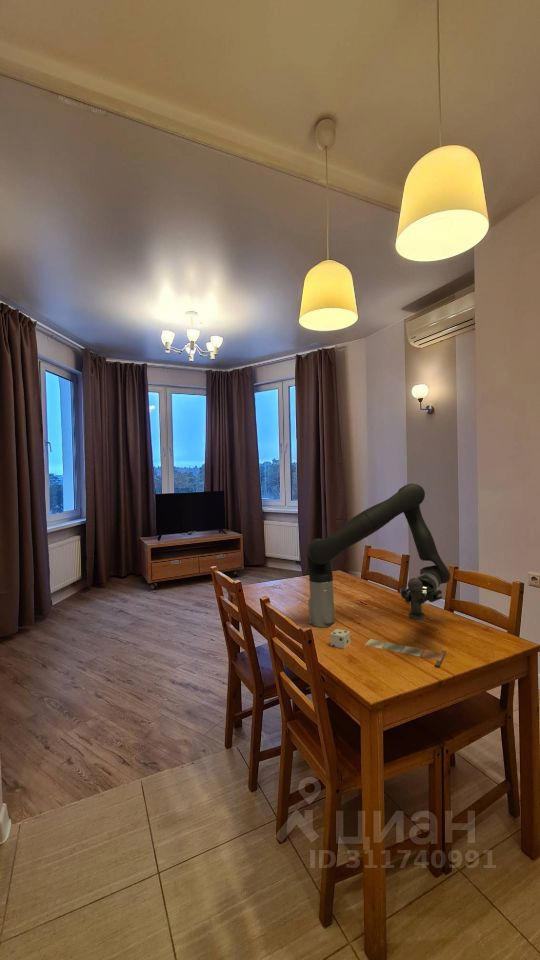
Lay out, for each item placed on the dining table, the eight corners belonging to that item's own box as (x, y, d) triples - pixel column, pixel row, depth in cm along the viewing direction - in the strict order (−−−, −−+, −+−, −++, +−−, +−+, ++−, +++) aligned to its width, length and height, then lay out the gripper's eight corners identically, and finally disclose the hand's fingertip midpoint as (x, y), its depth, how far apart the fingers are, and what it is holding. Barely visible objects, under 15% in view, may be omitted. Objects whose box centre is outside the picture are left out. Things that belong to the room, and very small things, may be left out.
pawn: (406, 619, 122) (404, 579, 122) (410, 614, 126) (408, 575, 126) (422, 621, 120) (420, 580, 120) (426, 616, 124) (424, 577, 124)
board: (361, 650, 127) (360, 648, 127) (372, 638, 136) (372, 636, 136) (439, 667, 114) (439, 664, 114) (446, 653, 123) (446, 650, 123)
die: (330, 648, 130) (329, 633, 130) (336, 643, 134) (336, 628, 134) (344, 652, 127) (344, 636, 127) (350, 646, 131) (350, 631, 131)
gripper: (404, 573, 139) (390, 586, 124) (446, 577, 131) (437, 591, 117) (405, 594, 139) (391, 609, 124) (447, 599, 131) (438, 616, 117)
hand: (413, 600), depth 121 cm, fingers closed on pawn, 3 cm apart
